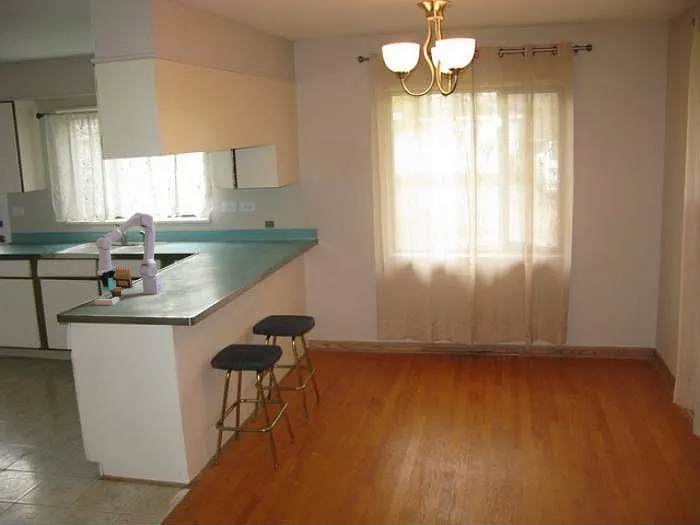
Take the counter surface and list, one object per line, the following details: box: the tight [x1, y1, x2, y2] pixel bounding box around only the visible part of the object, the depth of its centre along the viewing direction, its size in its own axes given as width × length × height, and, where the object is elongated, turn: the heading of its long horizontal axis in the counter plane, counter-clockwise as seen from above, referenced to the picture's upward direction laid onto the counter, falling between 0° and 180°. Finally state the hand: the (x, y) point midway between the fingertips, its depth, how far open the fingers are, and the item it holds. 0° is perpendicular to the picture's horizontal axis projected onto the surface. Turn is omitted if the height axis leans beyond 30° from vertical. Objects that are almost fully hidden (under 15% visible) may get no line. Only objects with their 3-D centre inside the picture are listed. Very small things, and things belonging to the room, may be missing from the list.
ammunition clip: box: [115, 266, 134, 289], centre depth 397 cm, size 11×2×12 cm, turn 66°
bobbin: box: [109, 287, 125, 300], centre depth 372 cm, size 7×7×5 cm
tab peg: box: [101, 278, 114, 291], centre depth 365 cm, size 4×4×6 cm
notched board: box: [94, 296, 120, 306], centre depth 363 cm, size 10×7×2 cm
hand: (108, 285), depth 365 cm, fingers closed on tab peg, 4 cm apart
